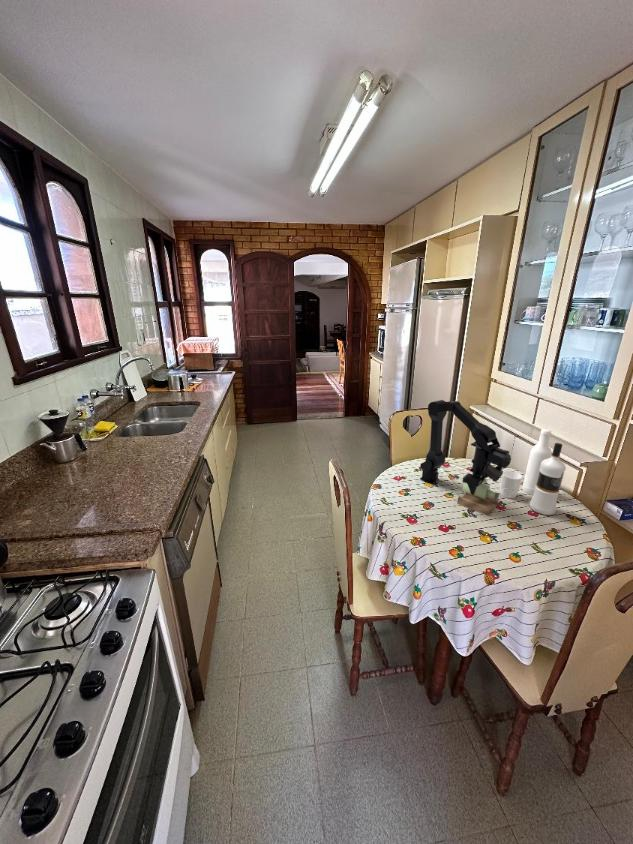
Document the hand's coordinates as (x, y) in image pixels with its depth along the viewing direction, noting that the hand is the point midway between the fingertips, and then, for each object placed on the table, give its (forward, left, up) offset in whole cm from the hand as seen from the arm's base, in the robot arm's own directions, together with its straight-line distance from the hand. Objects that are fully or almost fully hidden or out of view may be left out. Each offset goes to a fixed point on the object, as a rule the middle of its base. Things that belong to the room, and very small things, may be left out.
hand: (475, 491), depth 147 cm
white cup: (+9, +18, -6) cm, 21 cm away
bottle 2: (+16, +29, -6) cm, 33 cm away
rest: (+2, 0, -6) cm, 6 cm away
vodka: (+23, +15, -6) cm, 28 cm away
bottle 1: (+2, 0, -2) cm, 3 cm away
